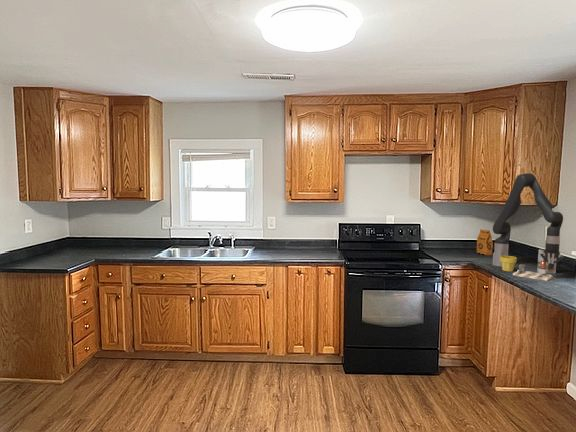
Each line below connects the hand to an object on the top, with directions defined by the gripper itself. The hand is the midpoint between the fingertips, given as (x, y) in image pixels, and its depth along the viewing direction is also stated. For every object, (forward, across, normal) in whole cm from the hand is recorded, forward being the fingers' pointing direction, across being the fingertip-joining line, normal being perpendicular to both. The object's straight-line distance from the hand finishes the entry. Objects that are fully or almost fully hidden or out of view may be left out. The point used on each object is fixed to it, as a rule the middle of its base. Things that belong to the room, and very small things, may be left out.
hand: (551, 269), depth 253 cm
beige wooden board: (+6, -10, -3) cm, 12 cm away
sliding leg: (+5, -4, -2) cm, 7 cm away
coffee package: (+7, -66, +63) cm, 91 cm away
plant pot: (+7, -28, +5) cm, 29 cm away
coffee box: (+7, -8, +19) cm, 22 cm away
